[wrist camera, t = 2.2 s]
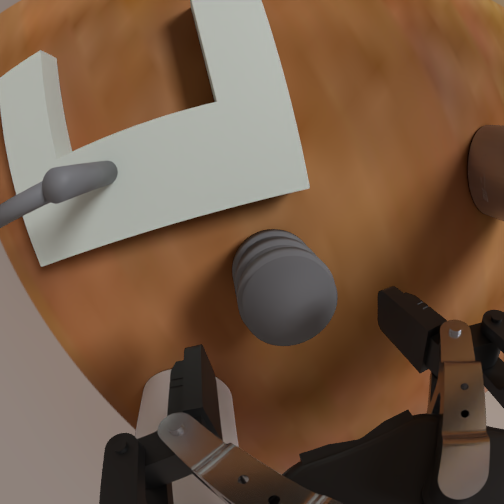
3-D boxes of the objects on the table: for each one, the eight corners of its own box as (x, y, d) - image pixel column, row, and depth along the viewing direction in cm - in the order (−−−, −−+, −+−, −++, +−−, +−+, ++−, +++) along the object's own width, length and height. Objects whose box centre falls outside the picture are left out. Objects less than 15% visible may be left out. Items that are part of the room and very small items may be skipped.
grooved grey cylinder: (300, 217, 20) (335, 245, 14) (312, 287, 21) (344, 331, 16) (222, 238, 19) (226, 274, 14) (242, 306, 21) (253, 359, 16)
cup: (130, 371, 22) (96, 544, 7) (224, 362, 23) (249, 554, 8) (159, 427, 25) (152, 566, 10) (238, 420, 25) (262, 566, 10)
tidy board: (249, -3, 14) (273, -76, 6) (298, 183, 19) (358, 207, 11) (15, 83, 13) (-57, 68, 5) (56, 255, 18) (-8, 310, 10)
